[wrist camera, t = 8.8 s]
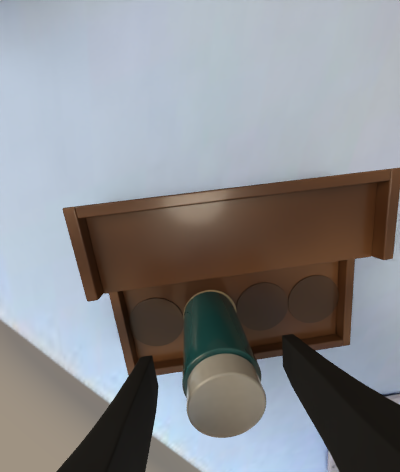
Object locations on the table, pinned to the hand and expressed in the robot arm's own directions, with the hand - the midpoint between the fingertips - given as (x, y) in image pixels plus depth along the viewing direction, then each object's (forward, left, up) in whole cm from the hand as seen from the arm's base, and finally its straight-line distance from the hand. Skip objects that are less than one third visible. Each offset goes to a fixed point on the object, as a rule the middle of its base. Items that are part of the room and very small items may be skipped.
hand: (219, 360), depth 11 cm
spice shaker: (0, 0, -4) cm, 4 cm away
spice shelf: (+3, -2, -6) cm, 7 cm away
